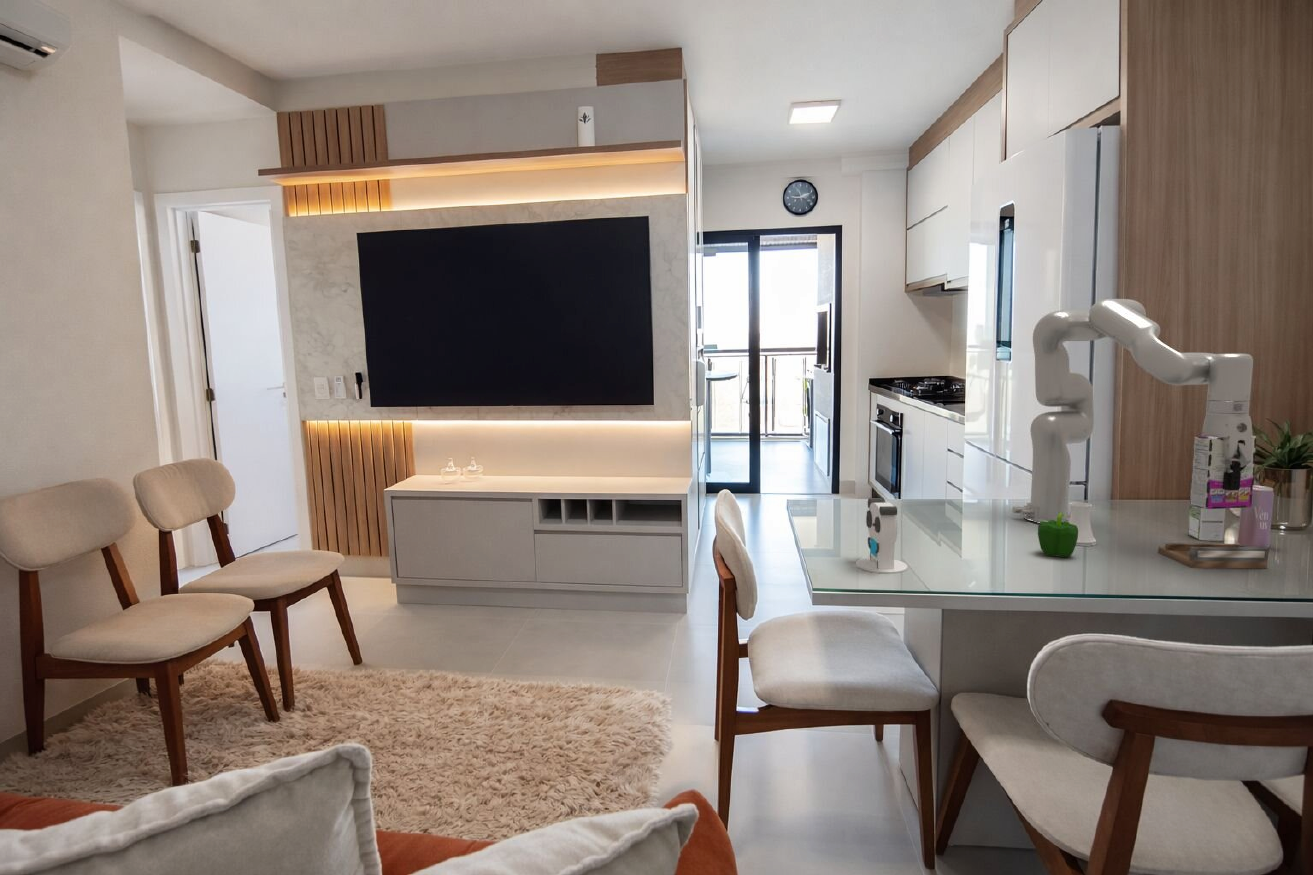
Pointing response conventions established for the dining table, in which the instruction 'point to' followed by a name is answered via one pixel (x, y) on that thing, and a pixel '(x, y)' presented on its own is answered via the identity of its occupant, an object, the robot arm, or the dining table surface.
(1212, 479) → the candy bar box
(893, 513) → the panda figurine
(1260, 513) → the beverage can
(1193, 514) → the syrup box
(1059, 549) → the bell pepper
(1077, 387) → the robot arm
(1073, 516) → the vase
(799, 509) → the dining table surface
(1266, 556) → the wooden tray
